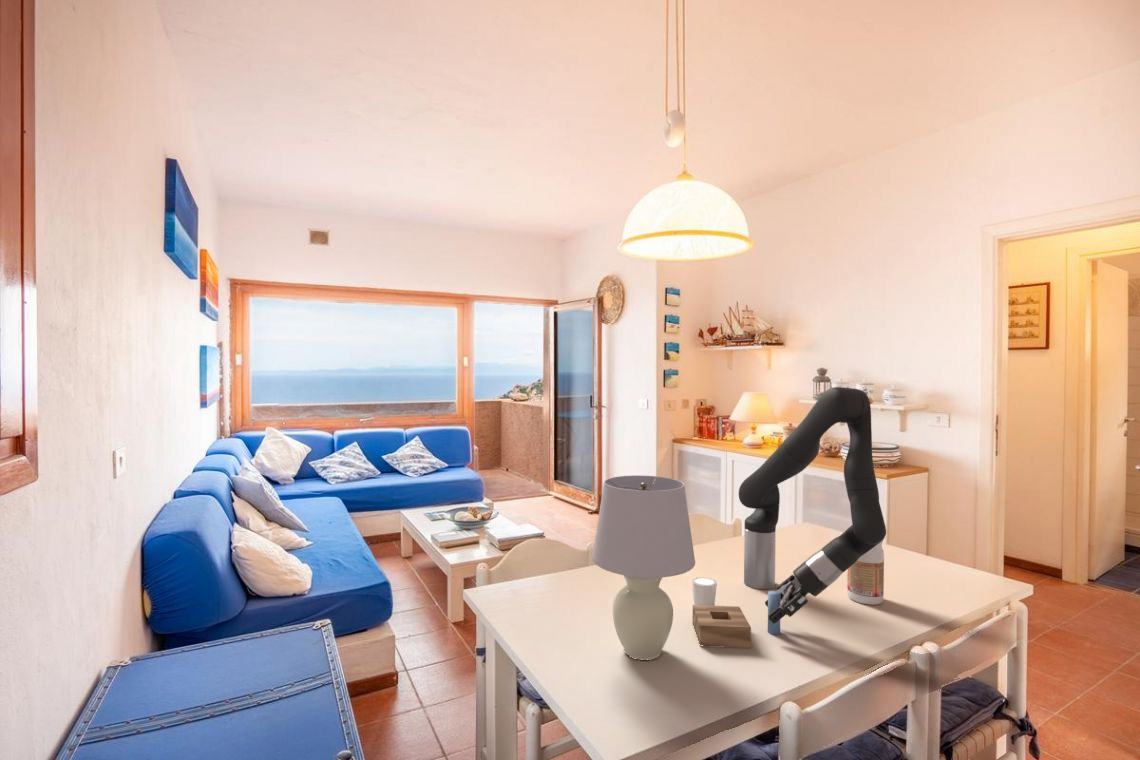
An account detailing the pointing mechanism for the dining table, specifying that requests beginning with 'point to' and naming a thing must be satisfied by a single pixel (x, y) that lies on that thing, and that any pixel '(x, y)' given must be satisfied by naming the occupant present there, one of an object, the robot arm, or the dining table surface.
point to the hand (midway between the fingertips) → (768, 613)
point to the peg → (773, 604)
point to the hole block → (721, 626)
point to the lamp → (643, 555)
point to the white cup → (704, 591)
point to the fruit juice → (867, 577)
